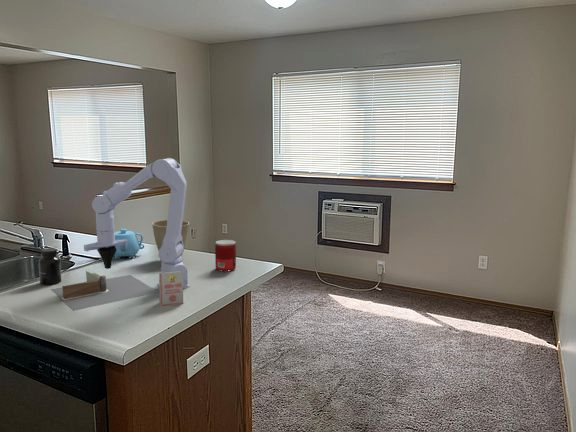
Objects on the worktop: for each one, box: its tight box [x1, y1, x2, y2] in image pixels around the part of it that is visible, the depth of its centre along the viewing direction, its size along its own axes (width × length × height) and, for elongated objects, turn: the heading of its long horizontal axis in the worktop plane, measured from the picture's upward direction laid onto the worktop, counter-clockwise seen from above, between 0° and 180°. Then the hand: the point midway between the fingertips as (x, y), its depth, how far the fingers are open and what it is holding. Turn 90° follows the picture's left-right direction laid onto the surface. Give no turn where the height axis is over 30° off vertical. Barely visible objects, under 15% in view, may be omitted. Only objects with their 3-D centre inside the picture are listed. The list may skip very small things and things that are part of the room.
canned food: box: [214, 239, 237, 272], centre depth 181 cm, size 8×8×11 cm
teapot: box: [114, 228, 145, 260], centre depth 197 cm, size 20×17×12 cm
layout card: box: [50, 274, 159, 311], centre depth 154 cm, size 25×27×1 cm
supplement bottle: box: [38, 247, 62, 286], centre depth 160 cm, size 7×7×12 cm
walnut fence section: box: [61, 275, 107, 299], centre depth 149 cm, size 2×13×5 cm, turn 131°
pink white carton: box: [158, 271, 184, 307], centre depth 144 cm, size 4×7×10 cm, turn 112°
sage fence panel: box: [85, 269, 100, 283], centre depth 158 cm, size 1×11×4 cm, turn 45°
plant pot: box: [151, 219, 190, 256], centre depth 192 cm, size 15×15×16 cm
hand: (107, 268), depth 161 cm, fingers closed
